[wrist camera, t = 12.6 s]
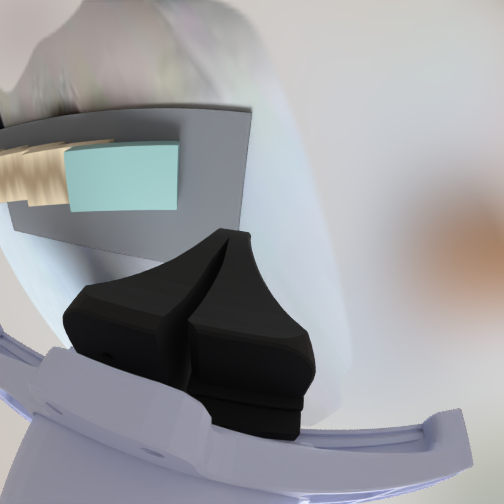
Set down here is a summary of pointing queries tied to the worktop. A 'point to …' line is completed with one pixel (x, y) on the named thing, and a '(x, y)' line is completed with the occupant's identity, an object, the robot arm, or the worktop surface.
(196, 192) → the felt mat
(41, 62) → the worktop surface
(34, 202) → the domino
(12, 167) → the domino
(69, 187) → the domino
